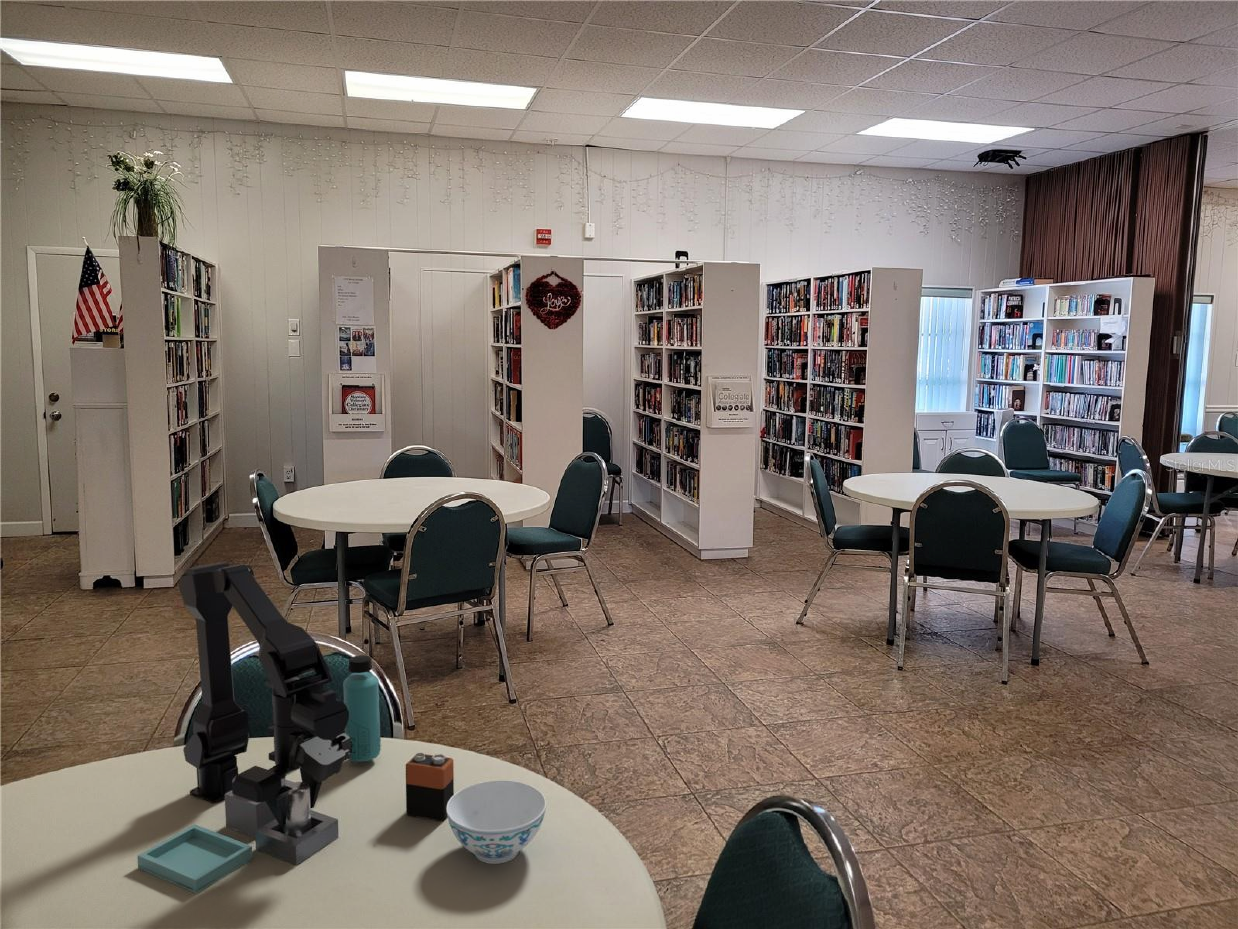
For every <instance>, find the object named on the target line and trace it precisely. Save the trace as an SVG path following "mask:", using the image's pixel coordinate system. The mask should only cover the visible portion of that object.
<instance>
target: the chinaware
mask: <svg viewBox="0 0 1238 929" xmlns="http://www.w3.org/2000/svg"><path fill="white" fill-rule="evenodd" d="M546 808H547V799H546V797H545V795H544V794H543V792H541V791H540V790H539V789H537V787H534V786H532V785H530V784H527V783H524V782H521V781H516V780H508V779H507V780H506V779H505V780H504V779H500V780H499V779H497V780H496V779H495V780H485V781H480V782H478V783H477V782H476V783H473V784H471V785H467V786H466V787H463V788H461V789H460V790H458V791H457V792H455V793H454V795H453V796H452V797H451V798H450V800H449V801H448V803H447V808H446V811H447V819H448V823H449V826H450V829H451V831H452V833H453V835H454V836H455V838H456V839H457V841H458V842H459V843H460V845H461V846H463V847H464V848H465V849H466V850H468V851H469V852H470V853H472V854H474V856H475V858H476V859H478V860H479V861H480V862H483V863H487V864H492V865H495V864H496V865H497V864H503V863H507V862H509V861H512V860H513V859H514V858H515V857H517V855H518V854H519V852H520V851H522V850H523V849H524V848H526V847H527V846H528V845H529V843H530V842H532V840H533V839H534V838H535V837H536V836H537V834H538V832H539V830H540V828H541V826H542V823H543V820H544V817H545V814H546Z"/></svg>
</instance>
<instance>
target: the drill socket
mask: <svg viewBox="0 0 1238 929" xmlns="http://www.w3.org/2000/svg"><path fill="white" fill-rule="evenodd" d="M310 810H311V830H309V831H308V832H306V833H305V834H303V835H301V836H300V837H298V838H297V839H296V838H293V837H290V836H288V835H285V834H283V826H282V825H280V824H279V823H278V822H277V820H276V819H275V820H273V821H271V822H270V823H268V824H266V825H264V826H263V827H261V828H259V829H258V830H256V831H255V837H254V838H255V840H254V841H255V850H257V851H259V852H261V853H264V854H267V855H270V856H272V857H274V858H277V859H279V860H282V861H284V862H287V863H289V864H292V865H295V866H297V865H299V864H300V863H302V862H304V861H305V860H306V859H308V858H310V857H311V856H313V855H314V854H315V853H317V852H318V851H320V850H322V849H323V848H325V847H326V846H328V845H329V844H331V843H333V842H334V841H335V840H336V839H338V838H339V819H338V818H335V817H332V816H329V815H326V814H323V813H321V812H318V811H316V810H312V809H310Z"/></svg>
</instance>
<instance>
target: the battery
mask: <svg viewBox="0 0 1238 929" xmlns="http://www.w3.org/2000/svg"><path fill="white" fill-rule="evenodd" d="M454 766H455V765H454V759H453V758H452V757H447V756H446V755H445V754H442V753H438V754H426V753H423V752H416V753H415V754H414V756H413V757H412V758H410V760H409V761H407V762H406V764H405V803H406V804H405V809H406V810H405V811H406V815H407V816H410V817H414V818H415V817H416V818H421V819H426V820H427V819H428V820H433V821H440V822H442V821H444V820H445V819H446V818H448V816H447V811H446V808H447V803H448V801H449V800H450V798H451V797H452V796H453V795H454V794H455V793H454V792H455V789H454V788H455V787H454V786H455V783H454V782H455V779H454V778H455V777H454V776H455V775H454Z"/></svg>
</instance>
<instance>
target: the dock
mask: <svg viewBox="0 0 1238 929" xmlns="http://www.w3.org/2000/svg"><path fill="white" fill-rule="evenodd" d="M290 783H294V781H291V780H290V779H289V780H288V779H285V786H286V785H288V784H290ZM224 807H225V809H224V810H225V827H227V828H229V829H232V830H235V831H236V832H240V833H242V834H245V835H247V836H251V837H254V838H255V831H256V830H258V829H259V828H261V827H263V826H264V825H266V824H268V823H270V822H271V821H273V820H275V817H274V815H273V813H272V812H271V810H270V808H269V807H268V805H267V804H266V802H265V801H264V802H259V803H257V802H254V801H251V800H248V799H245V798H243V797H240V796H237V795H234V794H232V790H231V791H229V792H227V793H226V794H225V798H224Z"/></svg>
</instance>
